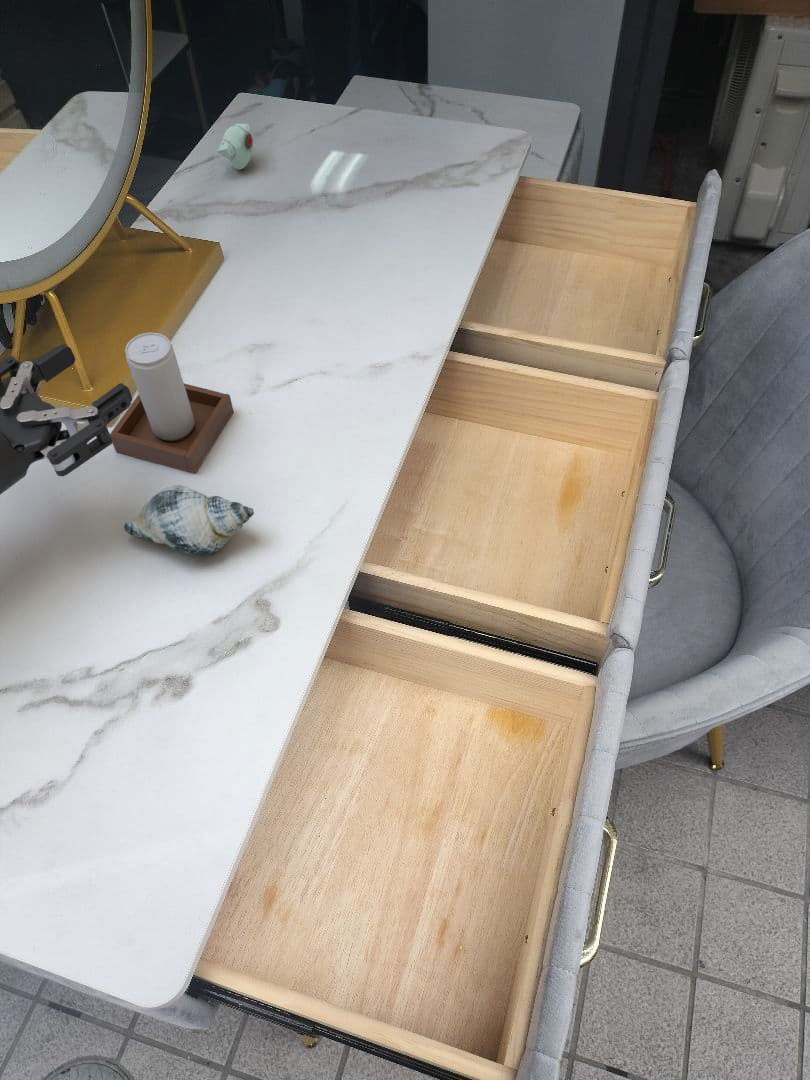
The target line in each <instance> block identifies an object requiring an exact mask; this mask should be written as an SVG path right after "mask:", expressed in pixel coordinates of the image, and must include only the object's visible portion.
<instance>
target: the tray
mask: <svg viewBox="0 0 810 1080" xmlns="http://www.w3.org/2000/svg"><path fill="white" fill-rule="evenodd" d="M183 383H184V386H185V390H186V393H187V396H188V400H189V403H190V406H191V410H192V413H193V416H194V420H195V425H194V428H193V430H192V431H191V432H190V433H189V435H187V436H186V437H185V438H183V439H181V440H177V441H166V440H163V439H160V438H158V437H157V436H156V435H155V434H154V433H153V431H152V428H151V425H150V423H149V420H148V417H147V414H146V412H145V409H144V406H143V403H142V401H141V398H140V395H139V394H137V396H136V398H134V400H133V401H132V402H131V405H130V406H129V408H128V409H126V410H125V413H124V414H123V415H122V417H121V418H120V419H119V421H118V422H117V424H116V425H115V427H114V428H113V429H112V430H111V432H109V433H110V436H111V438H112V445H113V448H114V450H115V452H116V453H119V454H122V455H126V456H130V457H132V458H133V457H134V458H136V459H141V460H144V461H148V462H152V463H155V464H159V465H162V466H166V467H169V468H174V469H177V470H181V471H185V472H188V473H191V474H197V472H198V471H199V470H200V467H201V466H202V464H203V463H204V461H205V460H206V458H207V456H208V454H209V453H210V451H211V450H212V448H213V447H214V445H215V443H216V441H217V440H218V438H219V436H220V435H221V434H222V432H223V430H224V429H225V427H226V425H227V423H228V422H229V420H230V419H231V417H232V416H233V414H234V408H233V407H234V406H233V403H232V399H231V395H230V394H228V393H223V392H220V391H215V390H212V389H208V388H203V387H201V386H196V385H193V384H190V383H189V384H188V383H186V382H183Z"/></svg>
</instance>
